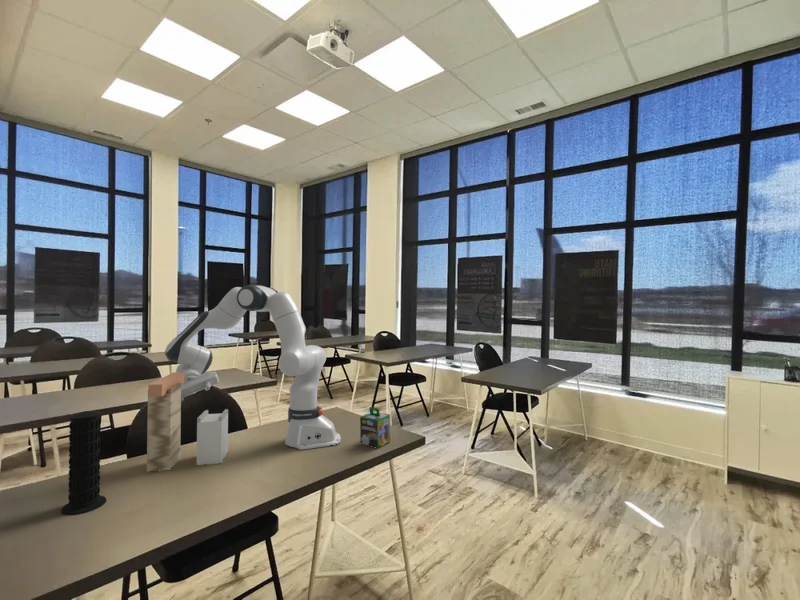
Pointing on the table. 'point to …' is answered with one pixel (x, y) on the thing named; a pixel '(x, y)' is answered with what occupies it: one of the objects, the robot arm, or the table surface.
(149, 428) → the block
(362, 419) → the chalk box
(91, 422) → the handle grip
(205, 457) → the yoke block
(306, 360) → the robot arm
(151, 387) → the shaft
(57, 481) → the table surface
